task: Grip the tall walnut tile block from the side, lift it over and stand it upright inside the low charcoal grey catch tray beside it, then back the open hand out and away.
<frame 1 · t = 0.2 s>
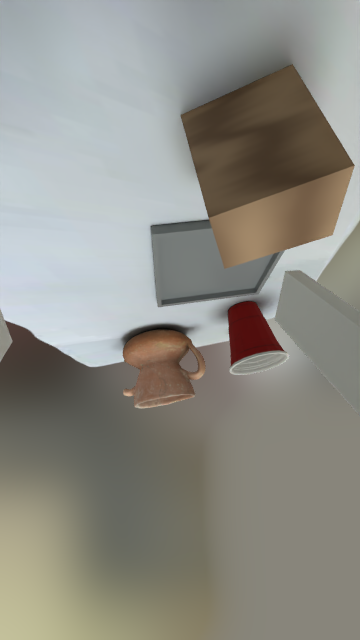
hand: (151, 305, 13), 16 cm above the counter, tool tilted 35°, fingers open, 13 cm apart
catch tray: (215, 263, 39), on the counter
ceramic jug: (157, 335, 61), on the counter
plastic cup: (242, 306, 54), on the counter
walnut block: (238, 131, 22), on the counter
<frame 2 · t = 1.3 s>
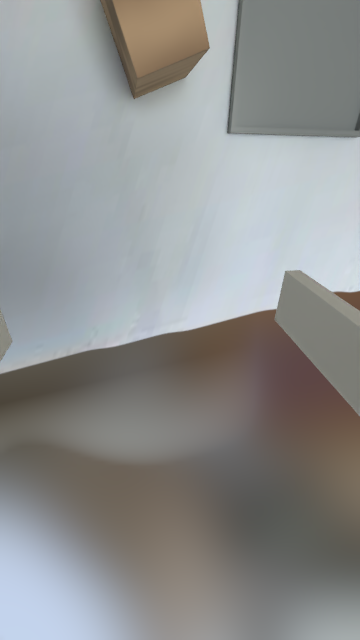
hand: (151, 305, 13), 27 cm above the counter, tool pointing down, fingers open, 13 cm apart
catch tray: (312, 39, 30), on the counter
walnut block: (145, 39, 28), on the counter
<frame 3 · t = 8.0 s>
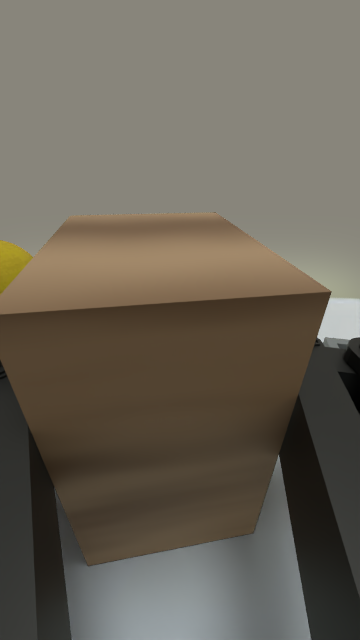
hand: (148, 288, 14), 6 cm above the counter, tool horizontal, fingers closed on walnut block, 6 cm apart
lemon: (23, 348, 20), on the counter
walnut block: (162, 448, 13), on the counter, touching gripper
when the fingers open (7 cm above the counter, at t = 14.5 s): walnut block stays where it is, resting on catch tray.
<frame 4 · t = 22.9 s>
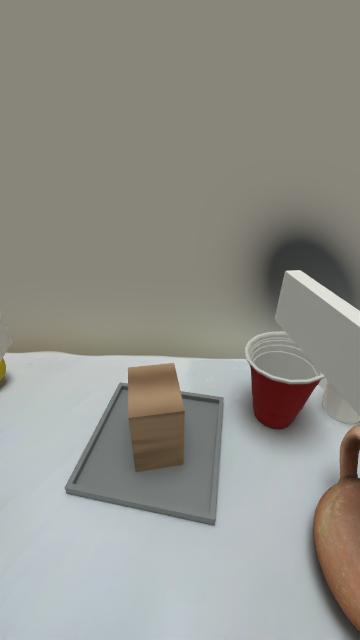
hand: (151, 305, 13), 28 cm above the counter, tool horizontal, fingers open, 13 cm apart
catch tray: (156, 441, 38), on the counter
plastic cup: (270, 413, 42), on the counter
walnut block: (156, 440, 38), resting on catch tray
shot glass: (341, 409, 43), on the counter
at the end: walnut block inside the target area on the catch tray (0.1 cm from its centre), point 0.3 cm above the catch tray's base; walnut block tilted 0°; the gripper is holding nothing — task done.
